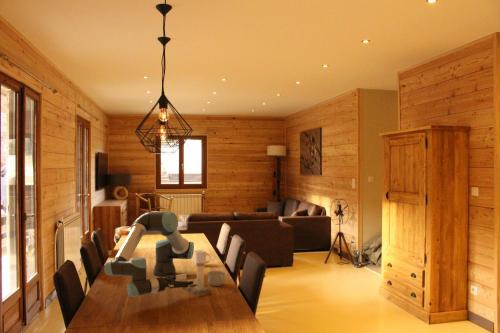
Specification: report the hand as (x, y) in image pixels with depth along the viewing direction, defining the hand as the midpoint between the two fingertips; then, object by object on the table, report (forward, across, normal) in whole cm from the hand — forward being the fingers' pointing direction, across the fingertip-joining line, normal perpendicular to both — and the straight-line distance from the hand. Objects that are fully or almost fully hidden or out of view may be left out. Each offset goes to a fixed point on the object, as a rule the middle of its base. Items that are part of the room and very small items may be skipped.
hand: (191, 278), depth 240 cm
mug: (+42, -62, -10) cm, 76 cm away
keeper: (+7, -2, -8) cm, 11 cm away
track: (+7, -7, -10) cm, 14 cm away
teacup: (+23, -9, -10) cm, 27 cm away
